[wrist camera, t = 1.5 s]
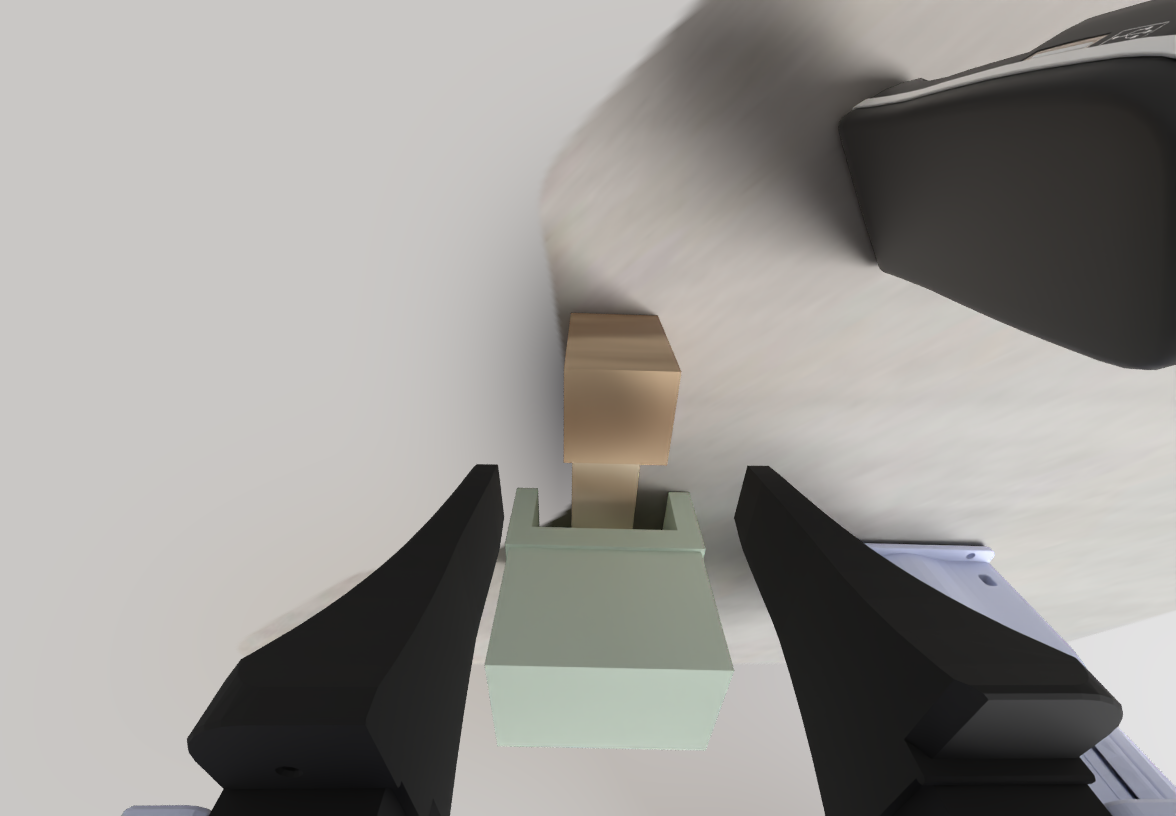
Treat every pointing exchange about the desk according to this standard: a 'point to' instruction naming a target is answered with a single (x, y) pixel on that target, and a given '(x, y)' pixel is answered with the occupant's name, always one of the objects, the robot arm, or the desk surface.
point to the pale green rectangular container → (606, 635)
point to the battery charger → (1038, 186)
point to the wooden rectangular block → (615, 412)
